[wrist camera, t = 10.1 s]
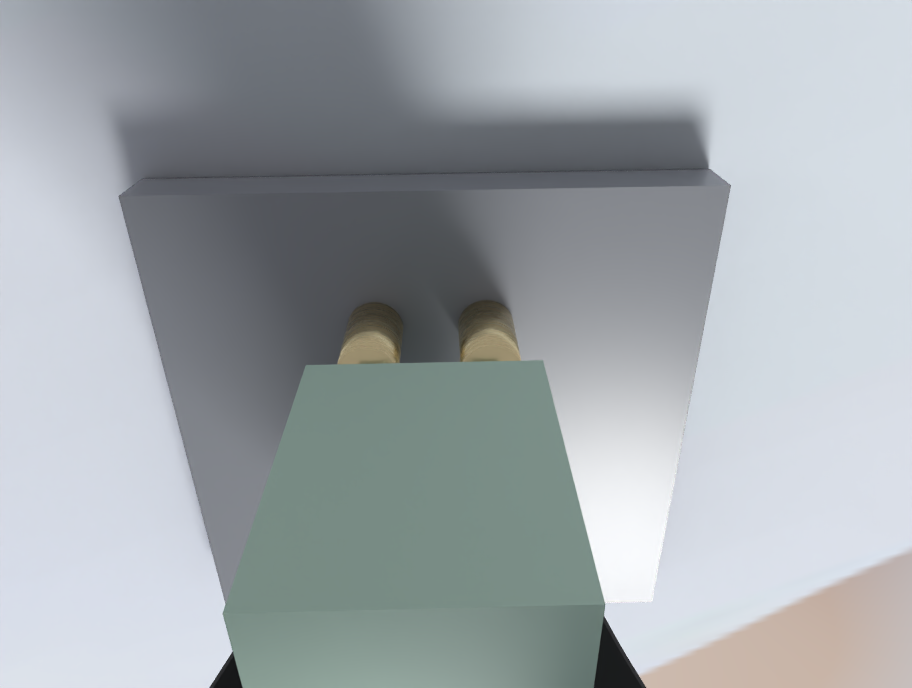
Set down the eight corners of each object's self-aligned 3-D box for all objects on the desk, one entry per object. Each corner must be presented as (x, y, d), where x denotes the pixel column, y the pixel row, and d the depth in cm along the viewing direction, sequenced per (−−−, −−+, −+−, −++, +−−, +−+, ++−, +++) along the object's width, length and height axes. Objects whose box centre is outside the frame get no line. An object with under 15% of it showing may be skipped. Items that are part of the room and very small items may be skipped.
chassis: (641, 568, 20) (672, 665, 18) (238, 578, 20) (206, 677, 17) (709, 169, 14) (774, 219, 12) (141, 178, 14) (69, 231, 12)
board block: (525, 663, 15) (557, 939, 11) (348, 667, 15) (311, 946, 11) (543, 360, 11) (604, 604, 7) (305, 365, 11) (221, 613, 7)
